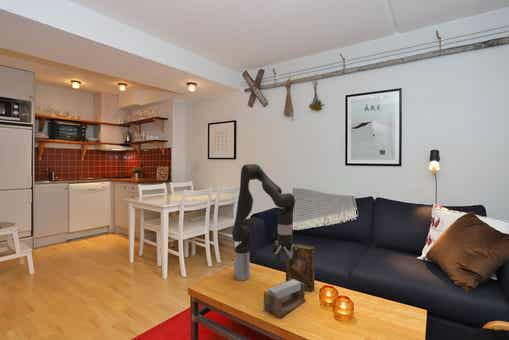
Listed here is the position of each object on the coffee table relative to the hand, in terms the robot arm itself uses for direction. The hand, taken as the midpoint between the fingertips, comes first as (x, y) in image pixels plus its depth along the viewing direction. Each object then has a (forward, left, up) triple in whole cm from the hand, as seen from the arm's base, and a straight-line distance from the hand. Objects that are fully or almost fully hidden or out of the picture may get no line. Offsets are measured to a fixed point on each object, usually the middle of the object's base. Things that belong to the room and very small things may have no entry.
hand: (284, 263), depth 138 cm
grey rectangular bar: (0, 0, -16) cm, 16 cm away
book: (-5, +22, -23) cm, 32 cm away
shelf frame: (0, 0, -23) cm, 23 cm away
